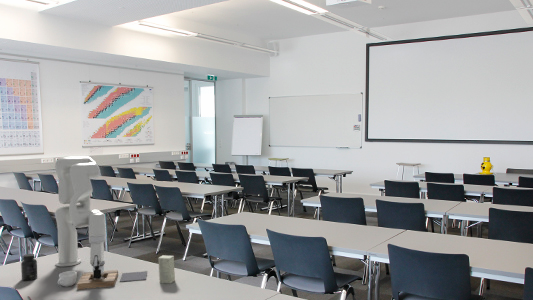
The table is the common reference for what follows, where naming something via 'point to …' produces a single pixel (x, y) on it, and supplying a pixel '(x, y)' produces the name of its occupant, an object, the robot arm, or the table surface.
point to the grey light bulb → (101, 270)
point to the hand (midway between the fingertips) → (98, 275)
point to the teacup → (67, 278)
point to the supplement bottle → (29, 267)
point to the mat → (133, 276)
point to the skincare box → (166, 269)
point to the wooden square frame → (97, 280)
